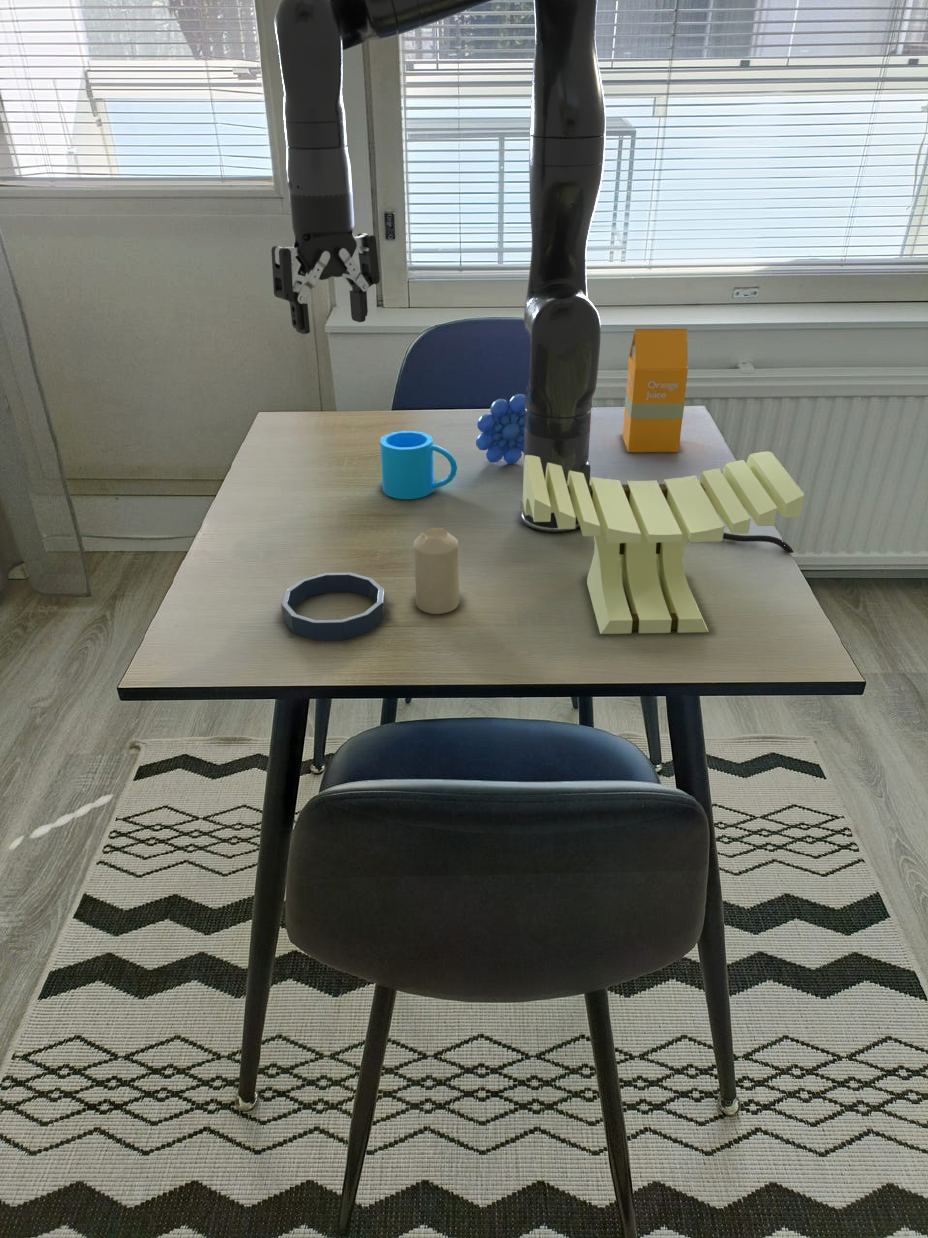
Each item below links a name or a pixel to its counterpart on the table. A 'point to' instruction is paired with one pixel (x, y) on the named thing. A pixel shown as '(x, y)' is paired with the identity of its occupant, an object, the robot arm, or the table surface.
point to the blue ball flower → (503, 430)
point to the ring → (333, 627)
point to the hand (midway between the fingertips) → (331, 326)
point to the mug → (411, 464)
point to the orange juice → (655, 390)
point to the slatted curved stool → (656, 531)
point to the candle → (436, 571)
